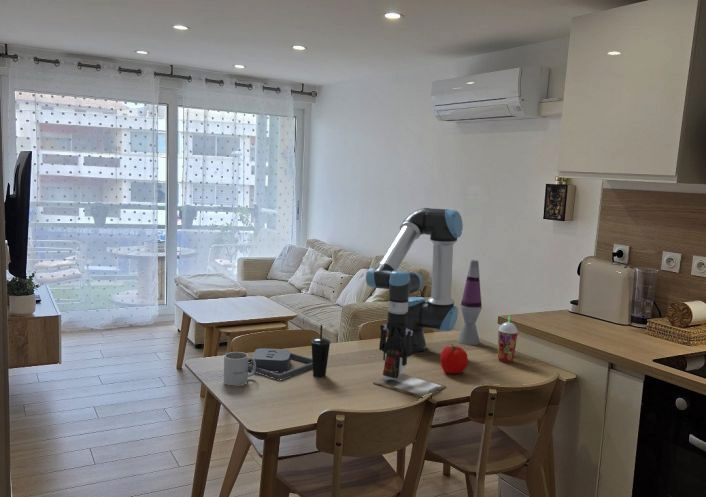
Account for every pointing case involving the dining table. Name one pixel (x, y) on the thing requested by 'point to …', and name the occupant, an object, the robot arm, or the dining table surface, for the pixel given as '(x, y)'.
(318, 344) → the drinking cup
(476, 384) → the dining table surface
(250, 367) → the frame
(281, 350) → the streaming box
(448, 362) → the tomato
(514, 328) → the smoothie
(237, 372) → the mug
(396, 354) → the deodorant
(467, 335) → the lamp
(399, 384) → the silver rectangular panel
